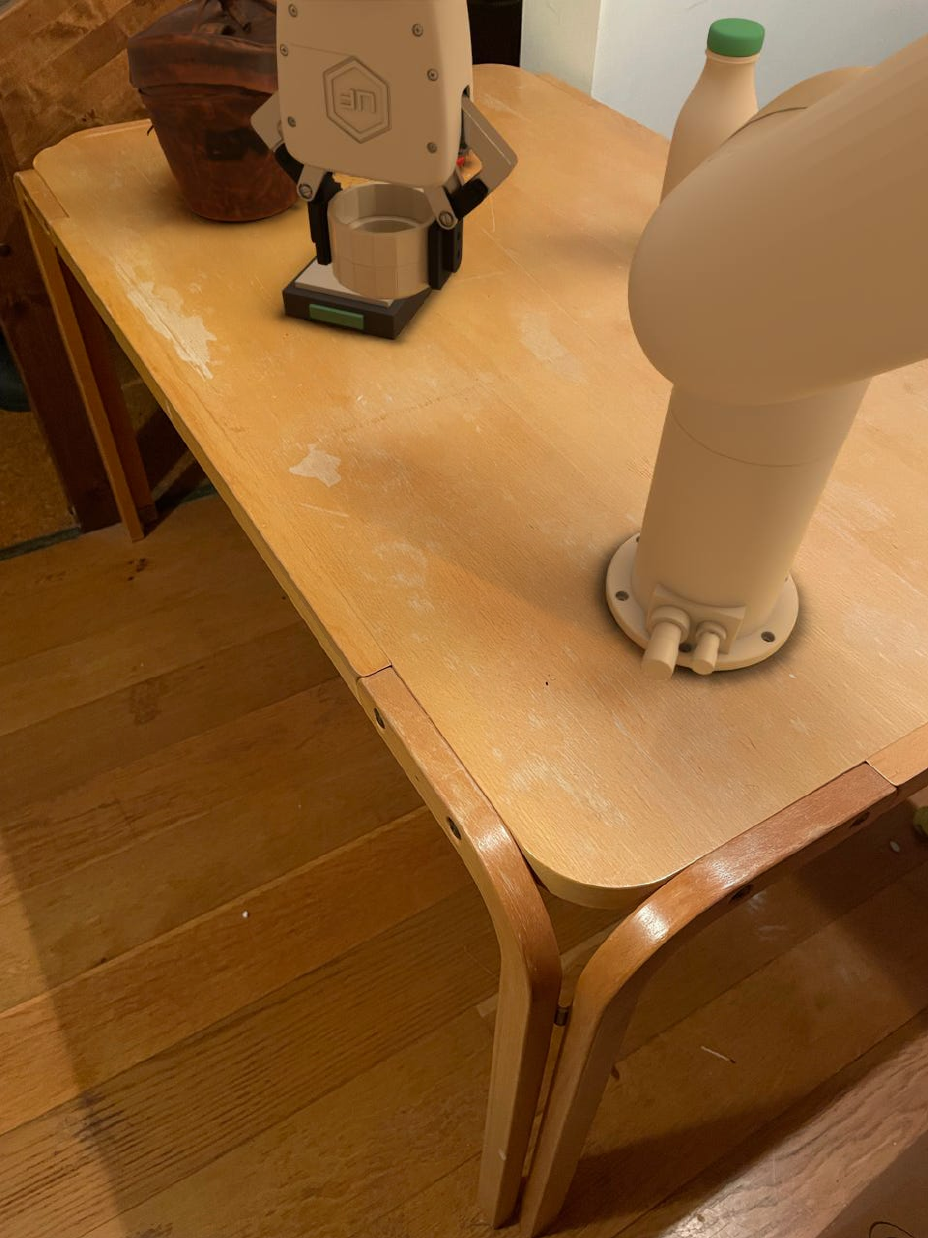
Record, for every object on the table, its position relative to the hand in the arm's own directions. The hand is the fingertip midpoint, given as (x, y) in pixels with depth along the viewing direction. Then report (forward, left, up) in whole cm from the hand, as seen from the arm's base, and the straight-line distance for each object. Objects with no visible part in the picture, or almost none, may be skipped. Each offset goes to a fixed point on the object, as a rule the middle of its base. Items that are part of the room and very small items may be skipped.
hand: (386, 264), depth 57 cm
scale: (+21, +13, -16) cm, 30 cm away
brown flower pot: (+34, +34, -16) cm, 51 cm away
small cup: (0, 0, -1) cm, 1 cm away
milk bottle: (+39, -14, -16) cm, 45 cm away
